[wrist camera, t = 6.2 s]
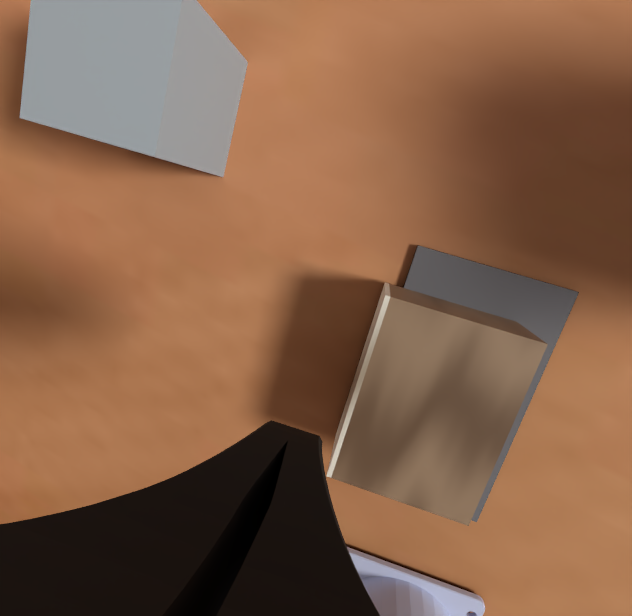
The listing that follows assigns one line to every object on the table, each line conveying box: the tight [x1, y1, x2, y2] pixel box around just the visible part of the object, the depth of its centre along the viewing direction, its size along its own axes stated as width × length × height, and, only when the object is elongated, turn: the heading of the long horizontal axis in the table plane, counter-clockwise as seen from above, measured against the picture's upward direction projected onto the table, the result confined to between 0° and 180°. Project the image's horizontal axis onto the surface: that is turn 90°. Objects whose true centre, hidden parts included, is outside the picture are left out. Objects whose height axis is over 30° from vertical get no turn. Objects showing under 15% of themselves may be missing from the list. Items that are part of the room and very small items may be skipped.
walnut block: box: [327, 283, 548, 526], centre depth 18 cm, size 8×4×6 cm
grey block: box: [20, 0, 248, 177], centre depth 16 cm, size 5×5×6 cm
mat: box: [403, 245, 579, 522], centre depth 19 cm, size 12×7×1 cm, turn 164°
